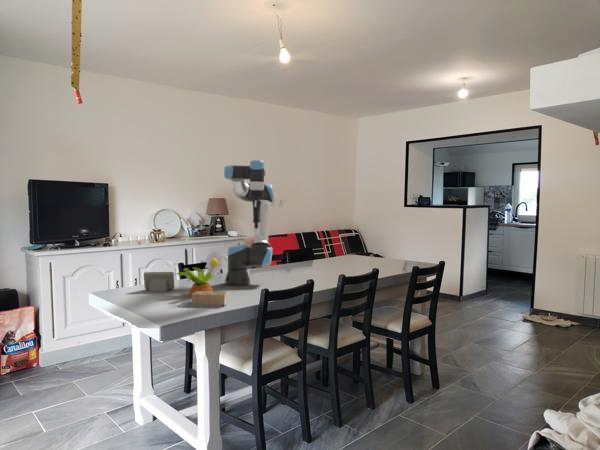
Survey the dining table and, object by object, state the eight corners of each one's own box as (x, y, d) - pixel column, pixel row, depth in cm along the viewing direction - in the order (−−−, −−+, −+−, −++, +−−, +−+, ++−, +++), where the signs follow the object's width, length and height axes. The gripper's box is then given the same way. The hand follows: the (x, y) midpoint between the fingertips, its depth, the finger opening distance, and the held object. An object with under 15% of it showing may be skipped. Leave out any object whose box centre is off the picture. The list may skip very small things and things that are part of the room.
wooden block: (227, 301, 211) (195, 301, 211) (228, 291, 211) (195, 291, 211) (225, 305, 204) (191, 304, 204) (225, 294, 204) (191, 294, 204)
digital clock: (176, 289, 241) (176, 270, 240) (170, 292, 232) (170, 273, 231) (147, 288, 242) (147, 269, 241) (141, 291, 233) (140, 272, 232)
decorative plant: (200, 302, 210) (200, 252, 209) (165, 296, 222) (165, 248, 221) (234, 292, 234) (235, 247, 232) (201, 287, 246) (201, 244, 244)
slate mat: (186, 300, 214) (186, 299, 214) (225, 301, 214) (225, 300, 214) (178, 307, 201) (178, 306, 201) (220, 307, 201) (220, 307, 201)
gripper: (262, 189, 220) (262, 235, 221) (265, 190, 233) (264, 233, 234) (248, 189, 220) (247, 235, 221) (251, 190, 233) (251, 233, 234)
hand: (256, 234), depth 227 cm, fingers closed
